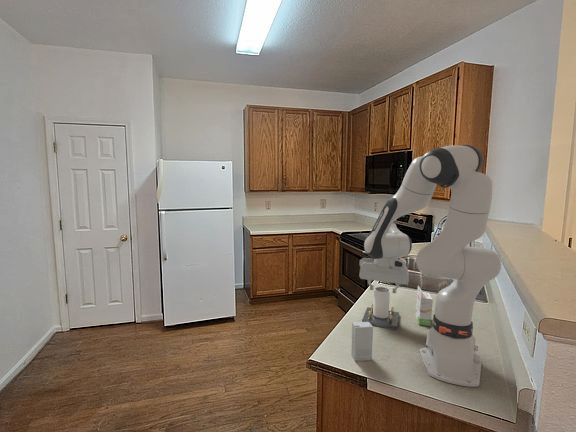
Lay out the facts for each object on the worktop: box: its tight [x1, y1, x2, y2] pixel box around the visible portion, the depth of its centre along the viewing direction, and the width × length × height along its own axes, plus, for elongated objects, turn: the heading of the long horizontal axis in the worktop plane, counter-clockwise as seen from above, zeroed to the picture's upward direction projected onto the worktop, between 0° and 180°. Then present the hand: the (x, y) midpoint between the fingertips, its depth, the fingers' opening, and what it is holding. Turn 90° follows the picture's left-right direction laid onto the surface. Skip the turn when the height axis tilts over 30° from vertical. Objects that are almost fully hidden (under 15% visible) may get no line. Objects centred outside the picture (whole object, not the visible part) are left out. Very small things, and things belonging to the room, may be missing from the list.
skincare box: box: [351, 321, 374, 362], centre depth 109 cm, size 6×4×12 cm
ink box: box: [415, 285, 434, 327], centre depth 138 cm, size 9×5×15 cm, turn 168°
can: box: [373, 286, 391, 319], centre depth 139 cm, size 6×6×12 cm
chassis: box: [361, 303, 400, 331], centre depth 140 cm, size 15×14×4 cm
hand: (382, 291), depth 138 cm, fingers open, 8 cm apart
